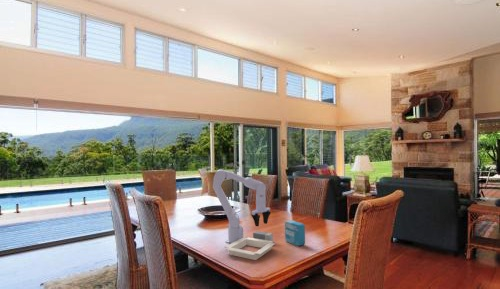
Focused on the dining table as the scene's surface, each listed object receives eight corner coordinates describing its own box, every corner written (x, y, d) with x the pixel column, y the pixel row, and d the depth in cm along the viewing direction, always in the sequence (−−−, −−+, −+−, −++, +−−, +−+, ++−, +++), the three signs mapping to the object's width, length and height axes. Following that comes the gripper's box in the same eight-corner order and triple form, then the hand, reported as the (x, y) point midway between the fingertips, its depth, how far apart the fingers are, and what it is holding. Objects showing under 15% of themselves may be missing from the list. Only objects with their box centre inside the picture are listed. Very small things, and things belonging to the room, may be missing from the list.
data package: (285, 241, 170) (284, 221, 171) (290, 239, 173) (290, 219, 173) (299, 246, 161) (299, 225, 161) (305, 245, 163) (305, 224, 164)
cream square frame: (244, 242, 169) (244, 236, 169) (277, 248, 159) (277, 242, 159) (222, 255, 150) (221, 248, 150) (257, 262, 139) (257, 255, 139)
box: (256, 239, 176) (256, 230, 176) (273, 241, 170) (272, 233, 170) (253, 241, 172) (253, 232, 172) (269, 244, 166) (269, 235, 166)
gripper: (257, 204, 165) (258, 228, 165) (273, 201, 175) (274, 223, 175) (248, 203, 170) (249, 226, 170) (264, 199, 180) (265, 221, 180)
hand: (261, 224), depth 173 cm, fingers open, 7 cm apart
